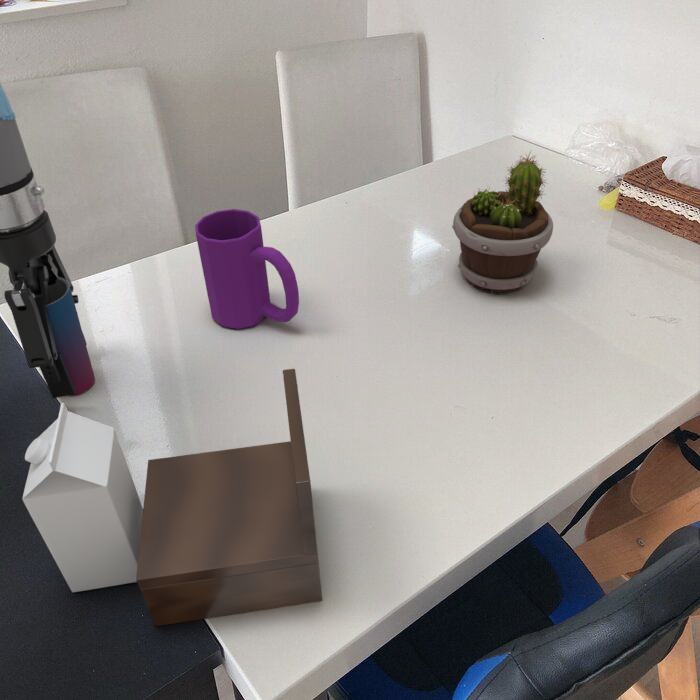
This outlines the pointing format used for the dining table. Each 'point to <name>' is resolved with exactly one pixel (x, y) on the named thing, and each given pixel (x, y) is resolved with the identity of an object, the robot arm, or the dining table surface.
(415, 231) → the dining table surface
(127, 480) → the milk carton
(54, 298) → the cup
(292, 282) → the mug
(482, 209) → the flowerpot
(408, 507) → the dining table surface
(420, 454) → the dining table surface
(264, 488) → the wooden box with backboard
